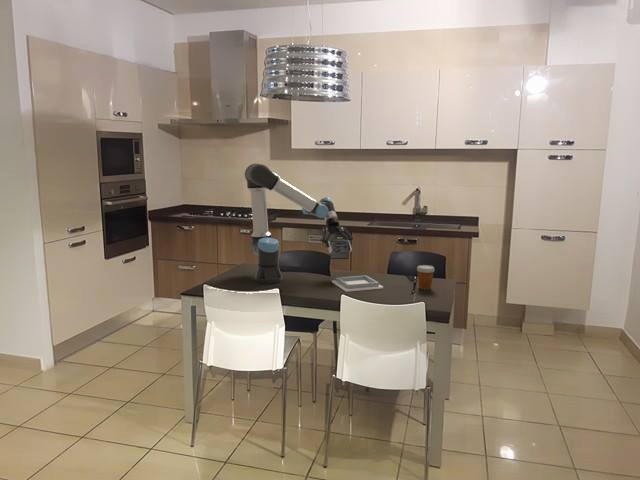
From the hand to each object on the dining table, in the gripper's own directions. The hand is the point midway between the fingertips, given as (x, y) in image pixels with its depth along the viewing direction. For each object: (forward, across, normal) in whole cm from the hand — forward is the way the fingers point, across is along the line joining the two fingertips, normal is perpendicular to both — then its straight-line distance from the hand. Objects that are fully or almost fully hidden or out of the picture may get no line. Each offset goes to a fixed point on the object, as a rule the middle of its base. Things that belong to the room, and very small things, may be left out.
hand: (340, 251), depth 291 cm
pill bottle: (+34, -36, +11) cm, 51 cm away
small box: (+2, 0, -5) cm, 5 cm away
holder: (+23, -4, 0) cm, 23 cm away
